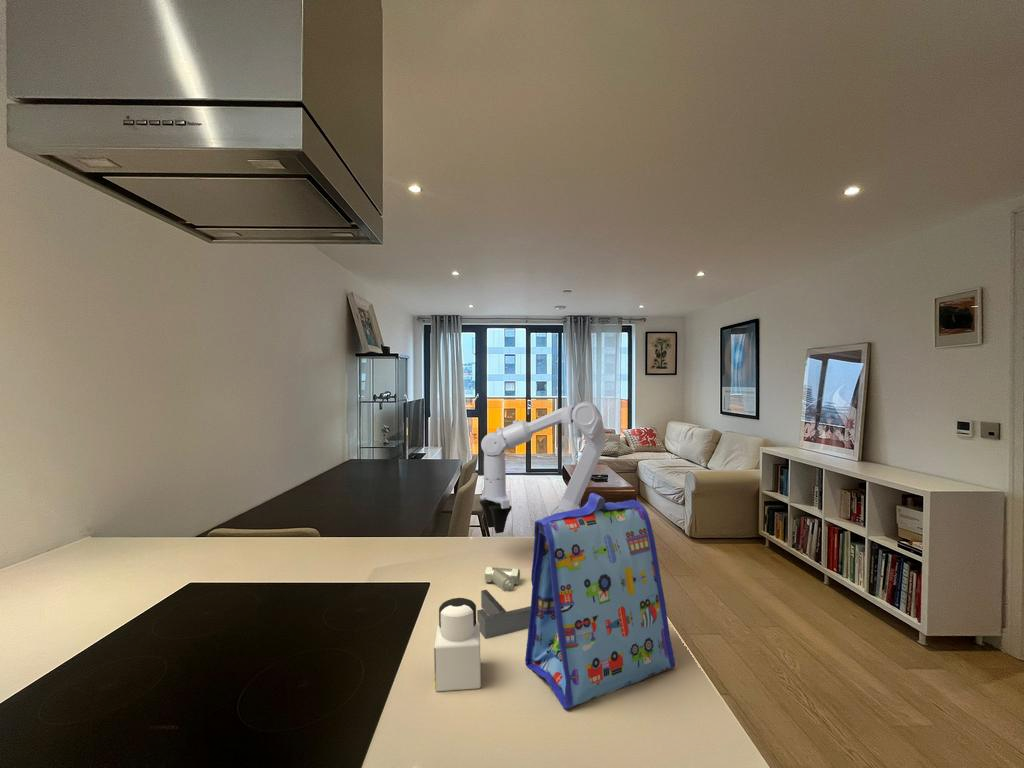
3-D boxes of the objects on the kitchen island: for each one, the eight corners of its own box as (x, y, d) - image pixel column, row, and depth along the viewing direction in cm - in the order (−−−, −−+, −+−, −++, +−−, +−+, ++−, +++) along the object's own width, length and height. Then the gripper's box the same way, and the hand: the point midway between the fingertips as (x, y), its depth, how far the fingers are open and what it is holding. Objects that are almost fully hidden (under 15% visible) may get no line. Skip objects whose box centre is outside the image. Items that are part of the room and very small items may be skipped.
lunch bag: (622, 633, 88) (620, 481, 88) (678, 671, 76) (674, 495, 76) (522, 665, 78) (520, 495, 78) (568, 715, 66) (564, 513, 66)
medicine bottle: (438, 665, 78) (437, 594, 79) (480, 662, 79) (479, 592, 79) (434, 692, 71) (433, 614, 71) (480, 689, 72) (479, 612, 72)
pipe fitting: (514, 595, 106) (520, 581, 112) (514, 578, 106) (519, 565, 112) (481, 592, 108) (488, 578, 114) (480, 576, 107) (488, 563, 114)
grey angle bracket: (555, 590, 107) (554, 575, 107) (584, 613, 95) (583, 596, 96) (464, 610, 98) (464, 594, 98) (485, 638, 86) (484, 620, 86)
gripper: (471, 474, 126) (472, 524, 126) (490, 484, 113) (491, 539, 113) (495, 472, 129) (495, 521, 129) (516, 481, 116) (517, 535, 116)
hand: (495, 529), depth 121 cm, fingers open, 5 cm apart
